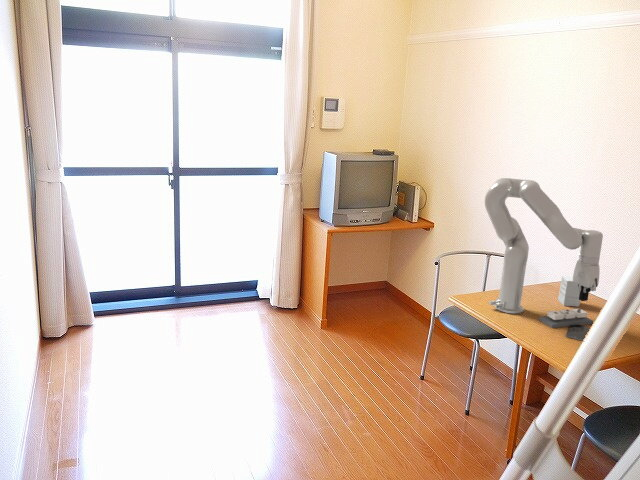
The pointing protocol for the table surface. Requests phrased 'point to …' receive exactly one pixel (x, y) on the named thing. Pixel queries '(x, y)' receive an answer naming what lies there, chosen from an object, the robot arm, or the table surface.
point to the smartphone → (577, 332)
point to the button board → (565, 321)
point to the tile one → (555, 315)
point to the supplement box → (569, 292)
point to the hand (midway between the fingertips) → (583, 300)
